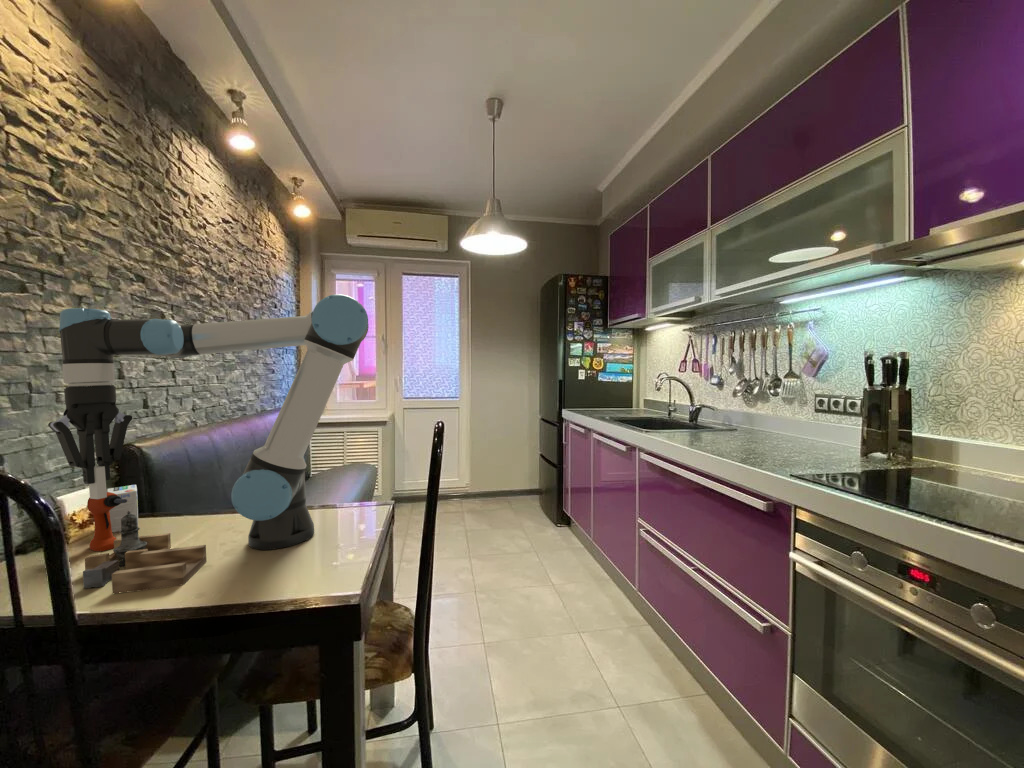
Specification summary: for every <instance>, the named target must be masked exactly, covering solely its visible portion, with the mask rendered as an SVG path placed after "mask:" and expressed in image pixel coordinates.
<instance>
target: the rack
mask: <svg viewBox="0 0 1024 768" xmlns="http://www.w3.org/2000/svg"><path fill="white" fill-rule="evenodd" d="M207 561H208V560H207V545H206V544H202V545H201V544H200V545H192V546H182V547H176V548H175V547H173V548H171V549H164V550H156V551H147V552H143V553H141V554H140V566H139V567H138V568H136V569H128V570H126V569H122V570H121V569H119V571H116V572H114V573H113V574H112V579H111V585H112V589H111V590H112V591H111V592H112V594H113V593H118V594H120V593H119V592H126V593H128V592H127V591H133V592H138V591H137V590H141V591H146V590H155V589H161V588H171V587H177V586H182V585H185V584H186V583H187V582H188V581H189V579H191V578H193V577H194V575H195V574H196V573H197V572H198V571H199V570H200V569H201V568H203V566H204V565H205V564H206V563H207Z"/></svg>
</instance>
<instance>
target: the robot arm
mask: <svg viewBox="0 0 1024 768" xmlns="http://www.w3.org/2000/svg"><path fill="white" fill-rule="evenodd" d="M368 330H369V316H368V314H367V310H366V309H365V307H364V306H363V305H362V304H361V303H360V302H359V301H358V300H356V299H355V298H353V297H351V296H349V295H346V294H339V293H337V294H331V295H328V296H325V297H324V298H321V300H319V301H318V302H317V303H316V305H314V308H313V310H312V311H310V312H309V313H308V314H307V315H300V316H289V317H288V316H285V317H284V316H283V317H275V318H274V317H271V318H258V319H246V320H244V319H243V320H233V321H219V322H218V321H217V322H207V323H194V324H179V323H178V322H177V321H175V320H173V319H164V318H163V319H162V318H161V319H160V318H152V319H151V318H149V319H148V318H146V319H143V318H141V319H140V318H137V319H134V318H133V319H132V318H131V319H114V318H112V317H111V313H110V312H108V311H107V310H105V309H97V308H83V307H74V308H73V307H71V308H65V309H63V310H61V311H60V312H59V329H58V333H59V335H60V337H59V339H60V346H61V347H60V348H61V356H62V357H61V358H62V375H63V383H64V384H65V385H68V386H66V387H65V388H63V390H64V391H63V392H64V404H65V410H64V412H63V413H62V414H63V415H62V417H60V418H59V419H57V420H55V421H50V422H48V424H47V426H48V427H49V428H50V429H51V430H52V431H53V432H54V433H55V434H56V437H57V439H58V442H59V444H60V446H61V448H62V451H63V454H64V456H65V459H66V461H67V464H68V465H69V467H73V468H79V469H82V481H83V483H84V484H85V485H88V488H89V497H90V499H102V498H106V497H107V481H110V479H111V468H110V466H111V465H113V464H114V462H116V461H119V460H121V457H122V454H123V453H122V452H123V450H124V449H123V448H124V445H125V440H126V435H127V431H128V426H129V424H130V423H131V422H132V419H133V416H132V414H131V415H130V414H125V413H123V412H120V410H119V407H118V406H117V404H116V403H117V390H116V386H115V385H114V384H113V383H115V381H116V378H115V377H116V375H115V365H114V361H115V360H114V356H153V357H154V356H156V357H167V358H169V357H170V358H174V359H183V358H188V357H191V356H199V355H210V354H222V353H231V352H232V353H233V352H244V351H254V350H264V349H265V350H266V349H276V348H286V347H287V348H289V347H298V346H299V347H300V346H306V352H305V355H304V357H303V359H302V361H301V363H300V365H299V368H298V370H297V373H296V374H295V377H294V379H293V381H292V383H291V385H290V388H289V390H288V393H287V394H286V396H285V399H284V402H283V403H282V406H281V408H280V410H279V412H278V414H277V416H276V419H275V421H274V422H273V423H274V424H273V425H272V428H271V430H270V431H269V434H268V437H267V439H266V441H265V443H264V445H263V446H261V447H259V448H256V449H254V450H253V452H252V454H251V456H250V459H249V461H248V462H247V465H246V467H245V469H244V472H243V473H242V475H241V476H239V477H238V478H237V480H236V481H235V482H234V484H233V486H232V489H231V494H230V496H231V497H230V498H231V499H230V500H231V503H232V506H233V508H234V509H235V510H236V512H237V513H238V514H239V515H241V516H242V517H243V518H245V519H248V520H251V521H252V523H251V527H250V530H249V533H248V535H247V536H248V538H247V539H248V546H249V547H250V548H252V549H253V550H258V551H259V550H260V551H261V550H262V551H263V550H264V551H265V550H277V549H282V548H283V549H284V548H287V547H292V546H296V545H298V544H301V543H303V542H305V541H307V540H310V538H312V537H313V536H314V535H315V524H314V521H313V518H312V516H311V514H310V511H309V509H308V507H307V499H306V496H307V494H306V473H305V470H306V468H307V463H306V459H305V453H306V451H307V450H308V447H309V445H310V443H311V440H312V438H313V436H314V434H315V431H316V429H317V427H318V424H319V421H320V420H321V417H322V415H323V413H324V410H325V407H327V404H328V401H329V399H330V397H331V394H332V392H333V390H334V388H335V386H336V385H337V384H336V383H337V382H338V379H339V376H340V374H341V372H342V369H343V367H344V365H345V364H348V363H349V362H350V363H351V362H352V361H354V359H355V357H356V355H357V352H358V350H359V348H360V345H361V343H362V341H364V339H366V337H367V334H368V332H369V331H368ZM113 422H114V425H113V427H112V431H111V424H112V423H113ZM70 424H71V425H72V426H73V427H74V428H75V429H76V434H77V436H78V445H77V443H76V441H75V438H74V435H73V433H72V431H71V430H70V427H71V426H70ZM110 431H111V435H109V433H110ZM110 436H111V438H110ZM78 446H79V447H78ZM96 464H97V465H96Z"/></svg>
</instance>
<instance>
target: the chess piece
mask: <svg viewBox="0 0 1024 768" xmlns="http://www.w3.org/2000/svg"><path fill="white" fill-rule="evenodd" d="M127 513H128V514H127V515H126V516H124V517H122V519H121V531H118V533H119V534H120V538H121V544H120V546H119V547H117V548H115V549H114V548H113V550H112V552H113V553H114V552H115V555H116V556H117V559H118V560H119V559H120V560H119V568H124V566H125V553H126V552H127V551H133V550H142V549H145V546H146V545H147V542H143V541H140V540H139V531H140V529H141V528H140V527H139V525H138V526H137V516H136V515H134V514H130V511H128V512H127Z"/></svg>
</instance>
